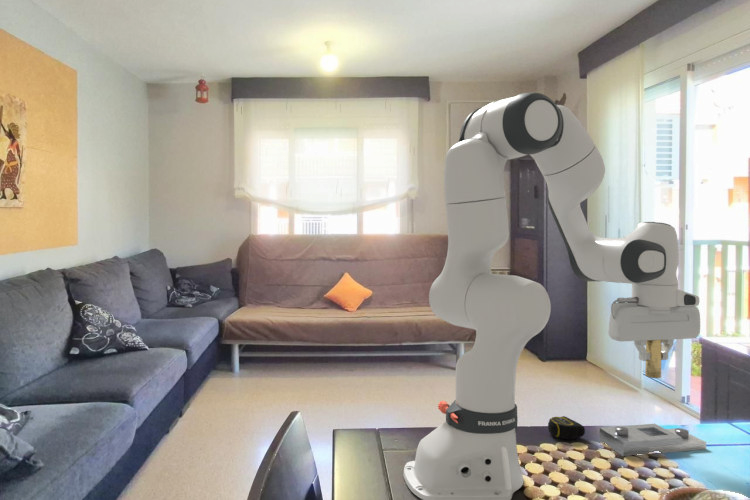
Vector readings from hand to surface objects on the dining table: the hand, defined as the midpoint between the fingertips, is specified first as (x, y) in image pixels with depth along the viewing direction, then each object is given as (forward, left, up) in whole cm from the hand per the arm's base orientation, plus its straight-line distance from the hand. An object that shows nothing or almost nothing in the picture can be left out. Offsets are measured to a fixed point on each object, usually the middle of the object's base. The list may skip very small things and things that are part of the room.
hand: (653, 359), depth 110 cm
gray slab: (0, 0, -19) cm, 19 cm away
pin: (0, 0, -4) cm, 4 cm away
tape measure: (-16, +9, -19) cm, 26 cm away
